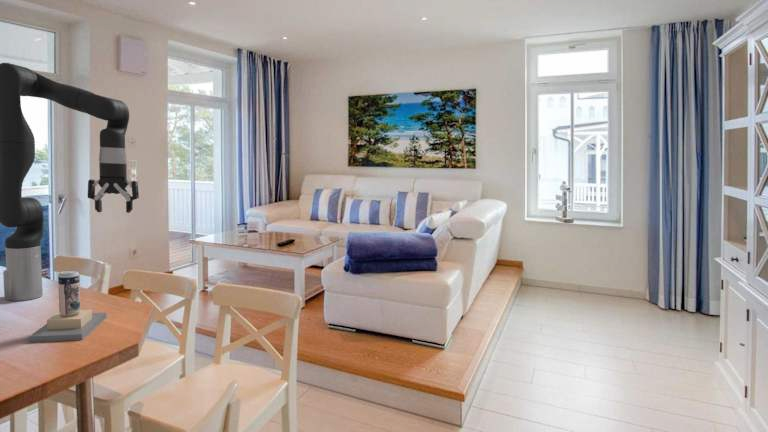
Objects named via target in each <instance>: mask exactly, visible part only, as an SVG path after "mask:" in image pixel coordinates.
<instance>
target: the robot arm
mask: <svg viewBox="0 0 768 432" xmlns="http://www.w3.org/2000/svg"><path fill="white" fill-rule="evenodd" d="M21 97H31V98H41V99H44V100H45V99H46V100H49V101H52V102H55V103H56V104H59V105H60V106H63V107H65V108H68V109H71V110H74V111H77V112H81V113H84V114H87V115H90V116H92V117H95V118H96V119H100V120H104V121H106V123H107V125H106V128H102V129H101V130H100V131H99V153H98V156H99V157H98V161H99V163H98V165H99V167H98V168H99V178H98V179H88V181H87V199H91V200H94V210H95V211H96V213H101V212H102V211H103V205H102V201H103V200H102V198H103V197H104V196H105V195H106V194H109V195H110V194H115V195H119V194H120V195H121V196H122V197H124V199H125V200H126V202H125V205H126V206H125V208H126V210H125V212H126V214H129V213H131V212H132V211H133V206H134V205H133V201H135V200H138V199H139V198H140V196H139V195H140V194H139V184H138V181H137V180H133V181H129V180H128V178H127V176H128V175H127V172H128V171H127V152H126V134H127V131H128V126H129V123H130V122H129V121H130V110H129V106H127V104H126V103H125V102H124V101H123V100H119V99H115V98H111V97H106V96H102V95H99V94H95V93H94V92H92V91H90V90H87V89H83V88H80V87H77V86H73V85H69V84H64V83H61V82H58V81H55V80H52V79H49V78H48V77H45V76H43V75H42V74H40V73H38V72H37V71H34V70H32V69H30V68H28V67H25V66H22V65H18V64H14V63H11V62H1V63H0V224H1V225H2V226H4V227H6V228H16V229H15V231H14V232H13V234H12V233H11V235H10V236H8V237H6V238H5V240H4V248H5V265H6V266H5V270H3V271H2V274H3V275H2V276H3V291H4V292H3V295H4V300H5V299H7V300H6V301H13V302H14V301H15V302H16V301H17V302H18V301H29V300H34V299H37V298H40V297H42V296H43V290H44V289H43V274H42V273H43V272H42V271H43V269H42V250H41V249H42V248H41V241H42V239H43V236H44V210H43V209H44V208H43V206H42V204H41V203H40V201H39V200H38V199H36V198H33V197H22V196H23V195H22V193H23V192H22V188H23V183H24V180H25V178H26V176H27V174H28V172H29V171H30V170H31V168H32V166H33V164H34V161H35V159H36V144H35V143H36V141H35V136H34V133H33V131H32V129H31V127H30V125H29V124H28V122H27V120H26V118H25V116H24V114H23V111H22V105H21V101H22V100H21ZM98 185H99V187H100V190H99V191H97V194H96V187H97V186H98ZM128 186H129V187H130V188H131V193H130V192H129V191H128V189H126V188H127V187H128Z"/></svg>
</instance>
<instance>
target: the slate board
mask: <svg viewBox="0 0 768 432" xmlns="http://www.w3.org/2000/svg"><path fill="white" fill-rule="evenodd" d="M105 319H107V312H93V309H81V312H80V313H79V314H77V315H75V316H70V317H64V316H62V315H60V310H59V311H58V312H56V313H55V314H54V315H52V316H50V317H49V318H48V319H46V324H44V325H43V326H41V327H40V328H39V329H37V330H35V332H33V333H32V334H30V335H29V336H28V342H29V343H37V342H38V343H40V342H41V343H42V342H43V343H44V342H60V341H61V342H62V341H78V340H79V341H83V340H84V339H85V338H86V337H87V336H88V335H89V334H90V333H91V332H93V331H94V330H95V329H96V328H97V327H98V326H99V325H100V324H101V323H102V322H103V321H104V320H105Z"/></svg>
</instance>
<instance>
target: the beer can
mask: <svg viewBox="0 0 768 432" xmlns="http://www.w3.org/2000/svg"><path fill="white" fill-rule="evenodd" d="M57 280H58V302H59V303H58V306H59V307H58V308H59V311H60V315H62V316H64V317H70V316H75V315H77V314H79V313H80V312H81V310H82V309H81V288H80V287H81V286H80V285H81V283H80V273H79V272H78V270H72V269H71V270H70V269H69V270H64V271H61V272H59V274H58V276H57Z"/></svg>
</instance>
